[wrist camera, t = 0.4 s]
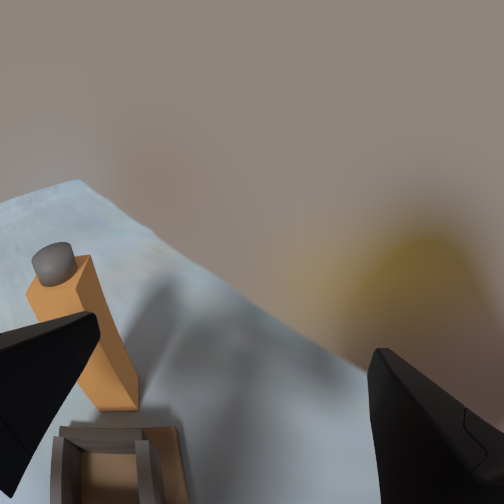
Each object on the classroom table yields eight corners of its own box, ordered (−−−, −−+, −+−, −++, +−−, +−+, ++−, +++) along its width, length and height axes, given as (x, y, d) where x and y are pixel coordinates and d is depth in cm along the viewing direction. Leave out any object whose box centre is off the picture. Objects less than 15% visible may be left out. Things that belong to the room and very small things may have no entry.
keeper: (211, 584, 7) (201, 593, 5) (70, 568, 5) (39, 565, 3) (178, 431, 20) (166, 409, 17) (66, 431, 17) (43, 409, 15)
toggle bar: (138, 410, 21) (67, 267, 13) (99, 411, 20) (16, 274, 12) (138, 376, 24) (84, 235, 17) (102, 378, 24) (38, 242, 16)
